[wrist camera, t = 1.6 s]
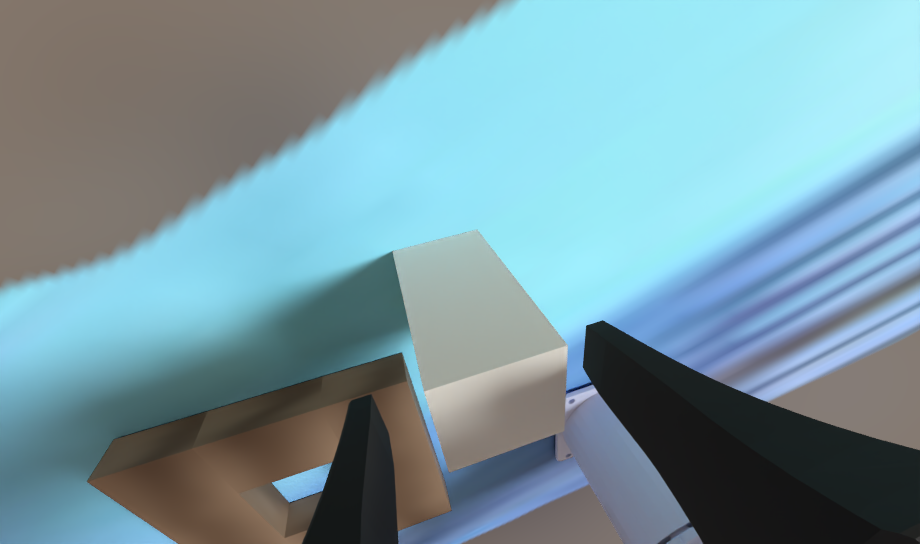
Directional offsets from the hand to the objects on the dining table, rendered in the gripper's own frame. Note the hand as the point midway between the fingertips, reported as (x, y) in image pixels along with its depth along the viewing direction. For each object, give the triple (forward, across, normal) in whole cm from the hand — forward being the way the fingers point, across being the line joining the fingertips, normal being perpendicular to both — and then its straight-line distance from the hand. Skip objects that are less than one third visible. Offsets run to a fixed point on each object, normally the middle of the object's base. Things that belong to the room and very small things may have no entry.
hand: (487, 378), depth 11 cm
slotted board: (+7, +10, +11) cm, 16 cm away
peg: (+7, 0, 0) cm, 7 cm away
